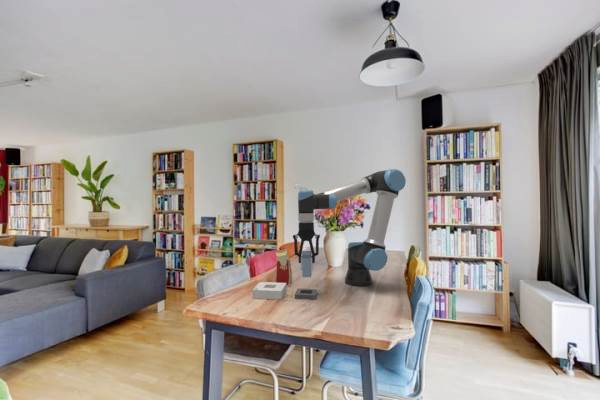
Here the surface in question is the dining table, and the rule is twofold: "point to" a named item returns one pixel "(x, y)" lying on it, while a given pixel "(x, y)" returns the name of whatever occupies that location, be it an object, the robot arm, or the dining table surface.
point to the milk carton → (283, 268)
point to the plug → (306, 263)
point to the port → (269, 290)
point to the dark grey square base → (306, 293)
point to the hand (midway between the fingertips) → (306, 269)
